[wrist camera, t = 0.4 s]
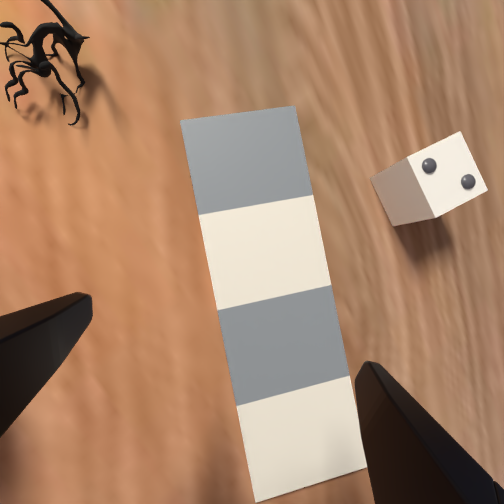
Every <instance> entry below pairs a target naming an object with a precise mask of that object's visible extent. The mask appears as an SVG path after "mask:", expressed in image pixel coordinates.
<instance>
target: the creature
mask: <svg viewBox="0 0 504 504" xmlns="http://www.w3.org/2000/svg"><path fill="white" fill-rule="evenodd" d="M41 1H42V2H43V3H45V4H46V5H47V6H48V7H49V8H50V9H51V10H52V11H53V12H54V14H55V15H56V16H57V17H58V19H59V20H60V21H61V23H62V24H63V28H62V27H61V26H60V25H59V24H58V23H57V22H56V23H53V22H51V23H43V24H40V25H39V26H38V27H37V28H36V30H35V31H34V32H33V34H32V35H31V37H30V39H29V41H28V43H27V44H26V45H21V44H16V43H9V41H15V40H18V41H19V42H21V43H23V44H25V42H24V39H23V35H22V33H21V31H20V30H19V28H17V27H16V26H15V25H14V24H13V23H11V22H2V23H1V24H0V26H1V27H5V28H13V29H14V30H15V31H16V33H17V36H13V37H10V38H9V39H8V40H7V42H0V44H2V45H5V54H6V58H7V60H8V61H9V59H8V57H7V52H6V47H9V45H8V44H16V45H21V46H24V47H28V46H29V45H30V44H31V43H32V44H33V56H32V57H31V58H28V57H26V56H25V55H23V54H22V55H23V56H25V57H26V58H28V59H29V60H30V61H31V63H30V62H26V61H15V62H13V63H11V64H10V66H9V71H10V74H11V76H12V77H13V80H10V81H9V82H8V83H7V84H6V85H5V91H6V95H7V98H8V101H9V102H10V96H9V94H8V91H7V89H8V87H11V86H14V85H16V84H17V83H18V80H19V83H20V85H21V86H22V90H20V91H18V92H16V93H15V94H14V96H13V97H14V104H15V108H16V109H17V103H16V97H18V96H20V95H25V94H27V93H28V89H27V88H26V86H25V85H24V82H23V79H22V77H23V75H24V74H25V72H33V73H35V74H37V75H39V76H41V77H48V76H49V75H50V74H51V69H52V71H53V72H54V73H55V76H56V79H57V81H58V83H59V84H60V85H61V86H62V87H63V89H64V90H65V91H66V92H67V93H68V94H69V95H70V96H71V97H72V99H73V102H74V104H75V107H76V110H77V113H78V114H77V117H76V121H75V122H74V123H72V124H68V125H75V124H76V123H77V122H78V120H79V118H80V108H79V105H78V101H77V98H76V96H75V95H74V94H75V93H74V94H73V93H72V91H71V90H70V89H69V88H68V87H67V86H66V85H65V84H64V83H63V82H62V81H61V79H60V76H59V74H58V71H57V70H56V68H55V67H54V66H53V65H52V64H51V63H50V62H49V61H48V59H47V57H46V56H57V55H58V52H57V50H56V48H55V44H56V43H60V44H62V45H63V46H64V47H65V48H66V49H67V51H68V53H69V54H70V56H71V58H72V59H73V62H74V64H75V67H76V72H77V76H78V78H79V79H80V81H81V84H80V85H79V86H77V90H76V93H77V91H78V88H80V87H82V86H83V85H84V84H85V81H84V79H83V77H82V76H81V74H80V71H79V68H78V64H77V56H78V53H79V51H80V48H81V45H82V43H83V42H84V39H87V38H90V37H84V36H82V35H80V34H78V33H77V32H76V31H75V30H74V29H73V27H72V26H71V25H70V24H69V23H68V22H67V21H66V20H65V19H64V17H63V16H62V15H61V14H60V13H59V11H58V10H57V9H56V8H55V7H54V6H53V5H52V3H51V2H50V1H49V0H41ZM48 34H53V44H52V45H51V48H52V50H53V52H54V53H53V54H45V52H44V50H43V47H42V45H43V39H44V38H45V37H46V36H47V35H48ZM64 36H65V37H66V38H67V39H66V38H65V37H64ZM9 48H11V47H9ZM11 49H13V48H11ZM13 50H14V49H13ZM15 51H16V50H15ZM16 52H17V51H16ZM18 53H19V52H18ZM20 54H21V53H20ZM17 62H23V63H25V64H27V65H29V66H31V67H29V66H24V65H16V66H18V67H28V68H31V69H33V70H25V71H22V72H20V74H19V76H18V78H17V77H16V75H15V70H14V66H13V65H14V64H15V63H17ZM34 70H36V71H34ZM60 95H61V98H62V102H63V115H65V106H64V97H65V96H68V95H63V94H61V93H60Z"/></svg>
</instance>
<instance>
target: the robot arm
mask: <svg viewBox="0 0 504 504" xmlns="http://www.w3.org/2000/svg"><path fill="white" fill-rule="evenodd" d="M92 316H93V310H92V297H91V295H89V294H85V293H81V292H75V293H72V294H69V295H66V296H63V297H59V298H56V299H53V300H50V301H47V302H44V303H41V304H38V305H35V306H31V307H28V308H25V309H22V310H19V311H16V312H13V313H10V314H6V315H3V316H0V437H1V436H2V435H3V434H4V433H5V432H6V430H7V429H8V428H9V427H10V426H11V424H12V423H13V422H14V421H15V420H16V418H17V417H18V416H19V415H20V414H21V412H22V411H23V410H24V409H25V408H26V406H27V405H28V404H29V403H30V402H31V400H32V399H33V398H34V397H35V396H36V394H37V393H38V392H39V391H40V390H41V388H42V387H43V386H44V385H45V384H46V382H47V381H48V380H49V379H50V378H51V376H52V375H53V374H54V373H55V372H56V370H57V369H58V368H59V367H60V365H61V364H62V363H63V361H64V360H65V359H66V357H67V356H68V354H69V353H70V351H71V350H72V348H73V347H74V346H75V344H76V343H77V341H78V340H79V338H80V337H81V335H82V334H83V332H84V331H85V329H86V328H87V326H88V325H89V324H90V322H91V320H92ZM355 392H356V401H357V410H358V419H359V427H360V434H361V440H362V445H363V449H364V454H365V459H366V463H367V468H368V473H369V477H370V482H371V487H372V491H373V496H374V501H375V504H504V489H503V488H502V487H501V486H500V485H499V484H498V483H497V482H496V481H493V479H492V477H491V476H490V475H489V474H488V473H487V472H486V471H485V470H484V469H483V468H482V467H481V466H480V465H479V464H478V463H477V462H476V461H475V460H474V459H473V458H472V457H471V456H470V455H469V454H468V453H467V452H466V451H465V450H464V449H463V448H462V447H461V446H460V445H459V444H458V443H457V442H456V441H455V440H454V439H453V438H452V437H451V436H450V435H449V433H448V432H447V431H446V430H445V429H444V428H443V427H442V426H441V425H440V424H439V423H438V422H437V421H436V420H435V419H434V418H433V417H432V416H431V415H430V414H429V413H428V412H427V411H426V410H425V409H424V408H423V407H422V406H421V405H420V404H419V403H418V402H417V401H416V400H415V399H414V398H413V397H412V396H411V395H410V394H409V393H408V392H407V391H406V390H405V389H404V388H403V387H402V386H401V385H400V384H399V383H398V382H397V381H396V380H395V379H394V378H393V377H392V376H391V375H390V374H389V373H388V372H387V371H386V370H385V369H384V368H383V367H382V366H381V365H380V364H379V363H376V362H372V361H365V362H364V363H363V365H362V367H361V369H360V371H359V373H358V374H357V376H356V379H355Z"/></svg>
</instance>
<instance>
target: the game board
mask: <svg viewBox="0 0 504 504" xmlns="http://www.w3.org/2000/svg"><path fill="white" fill-rule="evenodd" d="M180 123H181V129H182V134H183V139H184V144H185V149H186V154H187V159H188V164H189V169H190V174H191V179H192V184H193V189H194V194H195V199H196V204H197V209H198V214H199V219H200V225H201V230H202V235H203V240H204V245H205V250H206V255H207V260H208V265H209V270H210V275H211V280H212V285H213V290H214V295H215V300H216V305H217V310H218V316H219V321H220V326H221V331H222V336H223V341H224V346H225V351H226V356H227V361H228V366H229V371H230V376H231V381H232V386H233V391H234V396H235V401H236V406H237V412H238V417H239V422H240V427H241V432H242V437H243V442H244V447H245V452H246V457H247V462H248V467H249V472H250V477H251V482H252V487H253V492H254V497H255V502H256V503H257V502H260V501H263V500H266V499H269V498H272V497H275V496H279V495H282V494H285V493H288V492H291V491H294V490H297V489H300V488H304V487H307V486H310V485H313V484H316V483H319V482H322V481H325V480H329V479H332V478H335V477H338V476H341V475H344V474H347V473H350V472H354V471H357V470H360V469H363V468H366V467H367V463H366V459H365V454H364V449H363V445H362V440H361V434H360V427H359V420H358V415H357V410H356V405H355V400H354V395H353V390H352V385H351V380H350V375H349V370H348V365H347V360H346V355H345V350H344V345H343V341H342V336H341V331H340V326H339V321H338V316H337V311H336V306H335V301H334V296H333V291H332V286H331V281H330V276H329V271H328V266H327V261H326V257H325V252H324V247H323V242H322V237H321V232H320V227H319V222H318V217H317V212H316V207H315V202H314V197H313V192H312V187H311V182H310V177H309V173H308V168H307V163H306V158H305V153H304V148H303V143H302V138H301V133H300V128H299V123H298V118H297V113H296V108H295V106H288V107H280V108H272V109H265V110H257V111H249V112H242V113H234V114H226V115H219V116H211V117H203V118H196V119H188V120H180Z"/></svg>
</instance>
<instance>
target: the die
mask: <svg viewBox="0 0 504 504" xmlns="http://www.w3.org/2000/svg"><path fill="white" fill-rule="evenodd" d="M370 180H371V182H372V184H373V186H374V188H375V190H376V192H377V195H378V197H379V199H380V201H381V203H382V205H383V207H384V209H385V211H386V213H387V216H388V218H389V220H390V222H391V224H392V226H398V225H403V224H408V223H413V222H418V221H423V220H428V219H433V218H436V217H438V216H440V215H442V214H444V213H446V212H448V211H450V210H451V209H453V208H455V207H457V206H459V205H461V204H463V203H465V202H467V201H468V200H470V199H472V198H474V197H476V196H478V195H480V194H482V193H484V192H486V191H487V187H486V185H485V183H484V181H483V179H482V177H481V175H480V172H479V170H478V168H477V166H476V164H475V162H474V160H473V157H472V155H471V153H470V151H469V149H468V147H467V145H466V142H465V140H464V138H463V136H462V134H461V132H458V133H456V134H454V135H451V136H449V137H447V138H445V139H443V140H441V141H439V142H437V143H435V144H433V145H431V146H429V147H427V148H425V149H423V150H421V151H418V152H416V153H414V154H412V155H410V156H408V157H406V158H404V159H403V160H401V161H399V162H397V163H395V164H394V165H392V166H390V167H388V168H386V169H385V170H383V171H381V172H379V173H377V174H376V175H374V176H372V177H370Z"/></svg>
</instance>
